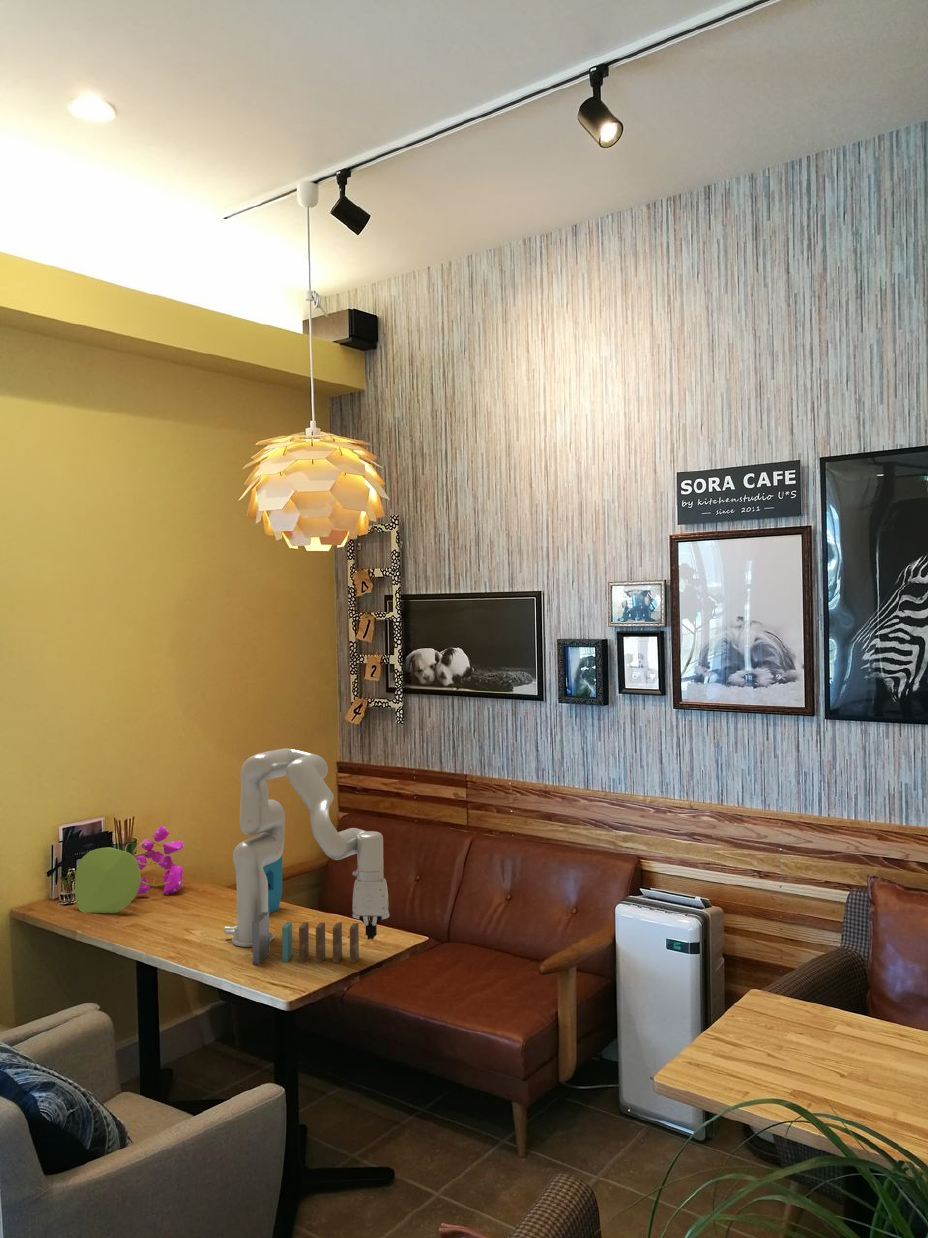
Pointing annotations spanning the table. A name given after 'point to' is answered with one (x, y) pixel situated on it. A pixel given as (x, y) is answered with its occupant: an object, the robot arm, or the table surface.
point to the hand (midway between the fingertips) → (371, 938)
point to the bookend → (260, 937)
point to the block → (274, 884)
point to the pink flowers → (123, 875)
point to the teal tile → (286, 941)
